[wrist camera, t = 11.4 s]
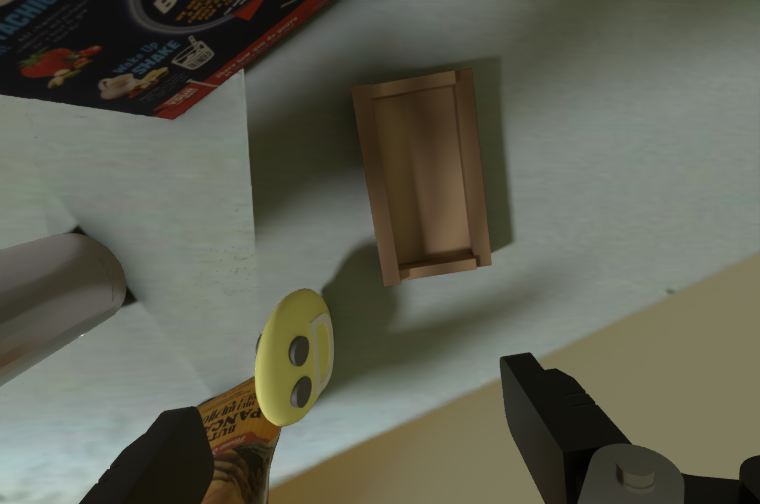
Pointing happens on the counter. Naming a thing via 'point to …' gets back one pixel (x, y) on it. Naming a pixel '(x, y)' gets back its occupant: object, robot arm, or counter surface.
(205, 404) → the pancake mix bag
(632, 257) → the counter surface
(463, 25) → the counter surface
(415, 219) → the walnut open tray
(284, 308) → the emoji
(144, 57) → the cereal box
